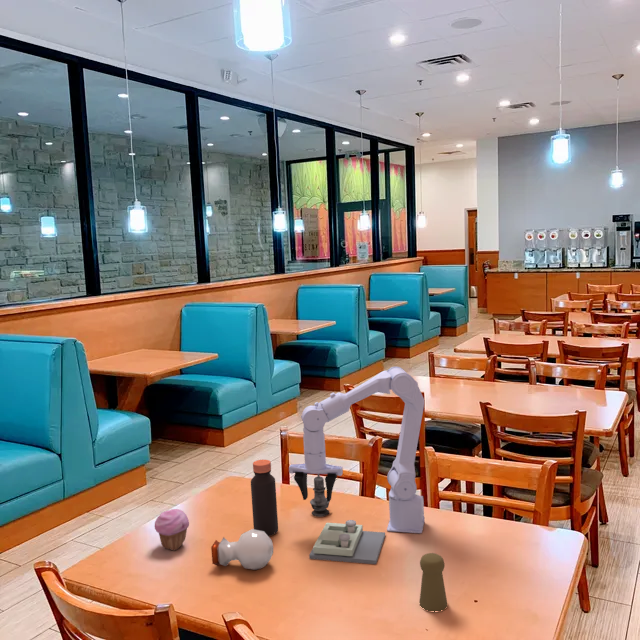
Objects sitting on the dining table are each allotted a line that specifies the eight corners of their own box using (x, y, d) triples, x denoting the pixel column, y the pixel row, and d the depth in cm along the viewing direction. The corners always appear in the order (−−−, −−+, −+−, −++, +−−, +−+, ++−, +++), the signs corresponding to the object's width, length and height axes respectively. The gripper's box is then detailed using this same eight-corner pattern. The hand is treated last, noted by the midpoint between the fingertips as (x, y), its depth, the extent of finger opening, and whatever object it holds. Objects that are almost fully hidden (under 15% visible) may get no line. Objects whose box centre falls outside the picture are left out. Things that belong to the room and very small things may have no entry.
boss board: (309, 558, 156) (308, 540, 156) (324, 531, 170) (323, 514, 170) (376, 564, 152) (375, 545, 151) (385, 535, 166) (384, 518, 166)
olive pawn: (416, 597, 137) (414, 550, 135) (443, 595, 137) (441, 548, 136) (423, 613, 131) (421, 564, 129) (451, 611, 131) (449, 562, 130)
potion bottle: (276, 575, 152) (218, 580, 154) (279, 538, 159) (223, 543, 161) (266, 557, 146) (206, 563, 148) (269, 519, 153) (212, 525, 155)
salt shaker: (328, 517, 179) (326, 477, 178) (308, 516, 180) (306, 477, 179) (332, 509, 185) (330, 470, 183) (312, 508, 186) (310, 469, 185)
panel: (313, 553, 156) (313, 547, 156) (326, 528, 170) (326, 522, 169) (352, 556, 154) (351, 550, 153) (362, 530, 167) (362, 525, 167)
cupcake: (150, 550, 165) (146, 514, 163) (172, 536, 172) (169, 502, 171) (176, 557, 160) (173, 520, 159) (197, 542, 168) (194, 507, 167)
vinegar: (280, 526, 175) (276, 458, 173) (276, 537, 169) (271, 466, 166) (256, 526, 176) (252, 458, 174) (251, 537, 169) (246, 467, 167)
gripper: (344, 446, 168) (346, 494, 170) (293, 445, 172) (296, 491, 174) (338, 455, 162) (340, 505, 163) (285, 453, 165) (288, 502, 167)
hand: (317, 499), depth 168 cm, fingers open, 6 cm apart
